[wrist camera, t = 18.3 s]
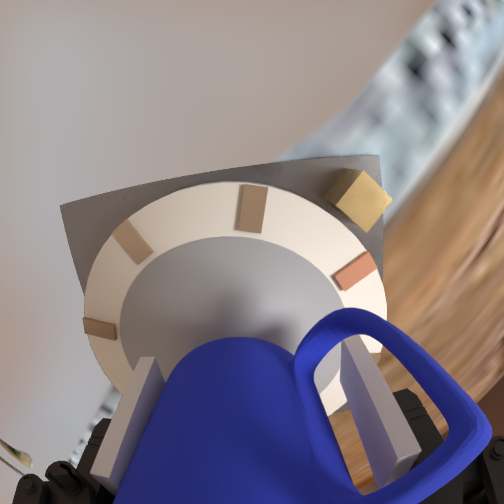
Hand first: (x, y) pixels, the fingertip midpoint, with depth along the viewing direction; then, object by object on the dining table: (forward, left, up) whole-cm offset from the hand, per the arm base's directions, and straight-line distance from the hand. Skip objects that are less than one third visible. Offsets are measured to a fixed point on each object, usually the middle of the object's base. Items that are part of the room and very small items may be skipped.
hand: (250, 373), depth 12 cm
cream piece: (0, -1, -5) cm, 5 cm away
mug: (0, +1, -1) cm, 1 cm away
